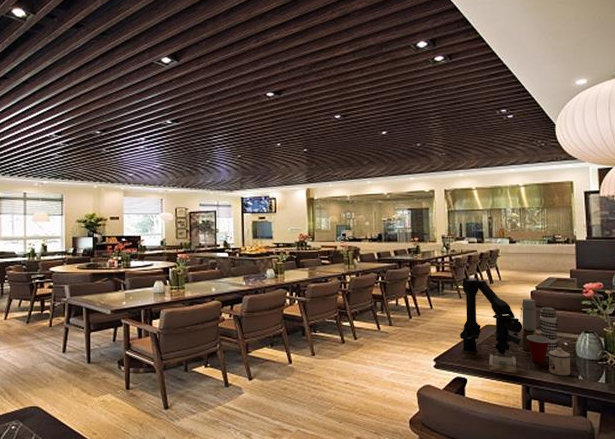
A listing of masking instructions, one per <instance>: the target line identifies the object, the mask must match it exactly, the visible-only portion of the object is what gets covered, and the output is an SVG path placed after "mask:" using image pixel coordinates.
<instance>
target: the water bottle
mask: <svg viewBox="0 0 615 439" xmlns="http://www.w3.org/2000/svg"><path fill="white" fill-rule="evenodd" d="M521 304H522V305H521V307H520V317H519V320H522V330H521V331H520V332H519V333H521V334H523V333H524V329H525V328H529V329H533V330H534V335H537V316H536V315H537V311H536V309H537V307H536V300H535V299H529V298H523V299H522V303H521Z"/></svg>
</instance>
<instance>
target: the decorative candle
mask: <svg viewBox="0 0 615 439" xmlns="http://www.w3.org/2000/svg"><path fill="white" fill-rule="evenodd" d="M539 312H540V316H539V318H538V323H539V329H538V330H539V333H540V336H543V337H546V338H548V339H550V342H549V344H548V347H547V352H546V357H549V352H550V351H554V350H557V348H559V345H558V339H557V335H558V328H559V326H558V325H559V323H558V321H559V320H558V317H557V312H558V311H557V310H556V309H555V308H554V307H547V306H546V307H542V308H541V309H540V310H539Z"/></svg>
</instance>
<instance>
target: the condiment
mask: <svg viewBox="0 0 615 439" xmlns="http://www.w3.org/2000/svg"><path fill="white" fill-rule="evenodd" d="M529 335H534V330H533V329H529V328H525V329H524V333H523V332H522V348H520V349H518V351H519V352H522V353H526V354H531V353H530V348H529V343H528V339H527V336H529Z"/></svg>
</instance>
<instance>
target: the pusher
mask: <svg viewBox="0 0 615 439" xmlns="http://www.w3.org/2000/svg"><path fill="white" fill-rule="evenodd" d="M493 364H494V365H503V366H512V357H509V358H507V357H498V356H496V355H493ZM512 367H513V366H512Z"/></svg>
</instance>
